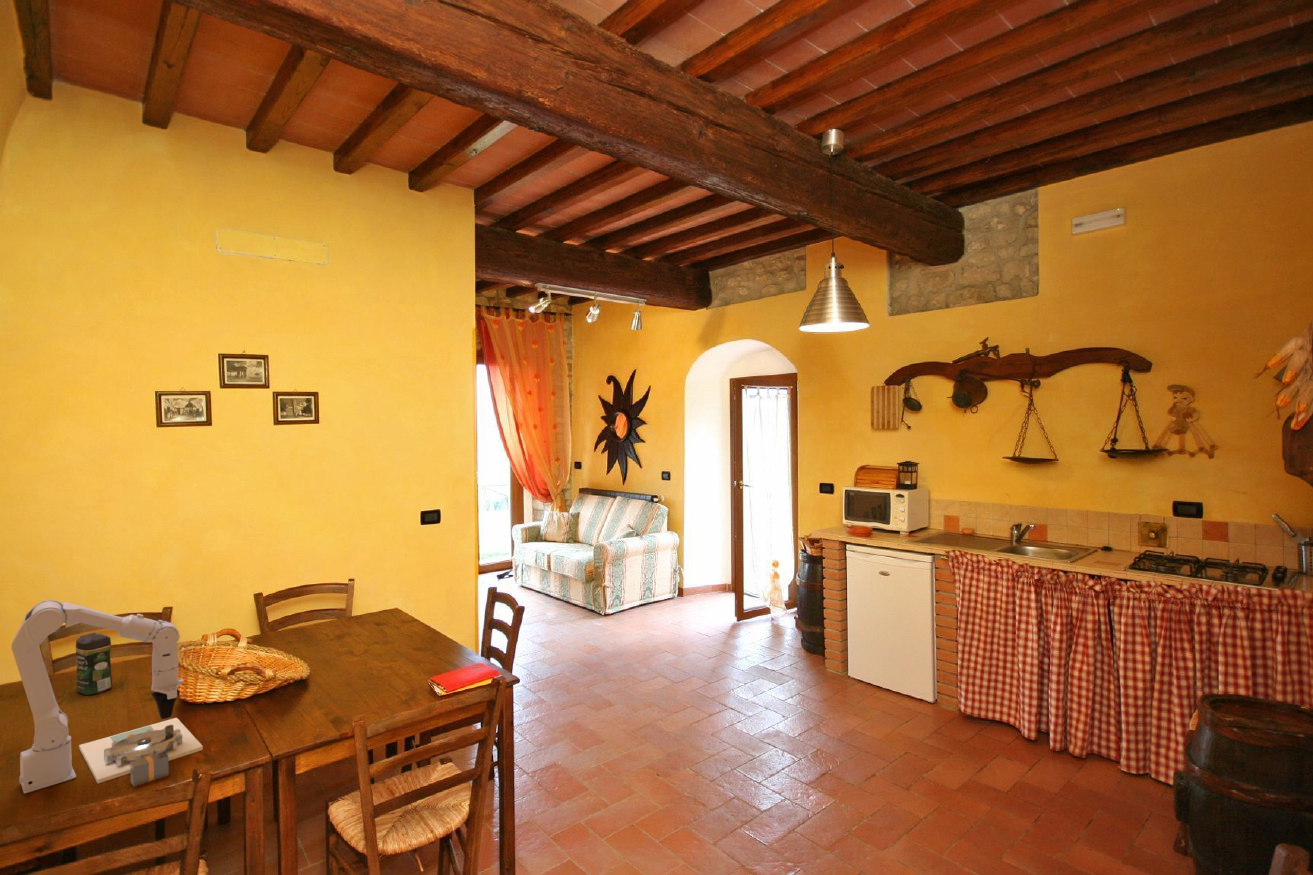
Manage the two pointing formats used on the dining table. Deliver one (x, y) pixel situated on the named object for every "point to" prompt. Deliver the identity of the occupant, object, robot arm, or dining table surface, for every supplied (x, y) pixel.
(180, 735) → the sprocket
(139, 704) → the dining table surface
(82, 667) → the coffee jar
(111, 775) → the sprocket base
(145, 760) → the link block
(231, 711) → the dining table surface
